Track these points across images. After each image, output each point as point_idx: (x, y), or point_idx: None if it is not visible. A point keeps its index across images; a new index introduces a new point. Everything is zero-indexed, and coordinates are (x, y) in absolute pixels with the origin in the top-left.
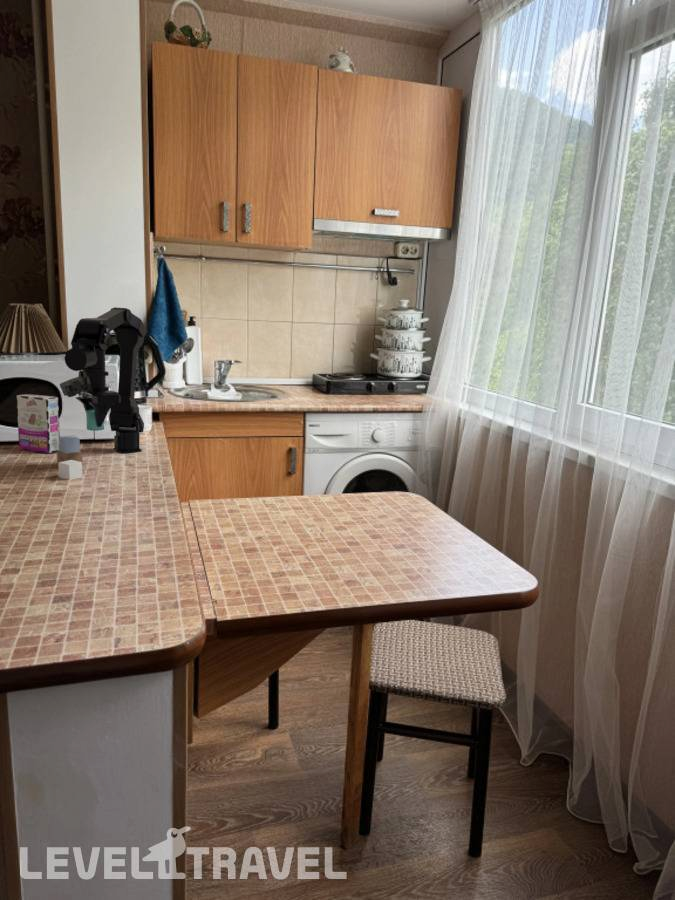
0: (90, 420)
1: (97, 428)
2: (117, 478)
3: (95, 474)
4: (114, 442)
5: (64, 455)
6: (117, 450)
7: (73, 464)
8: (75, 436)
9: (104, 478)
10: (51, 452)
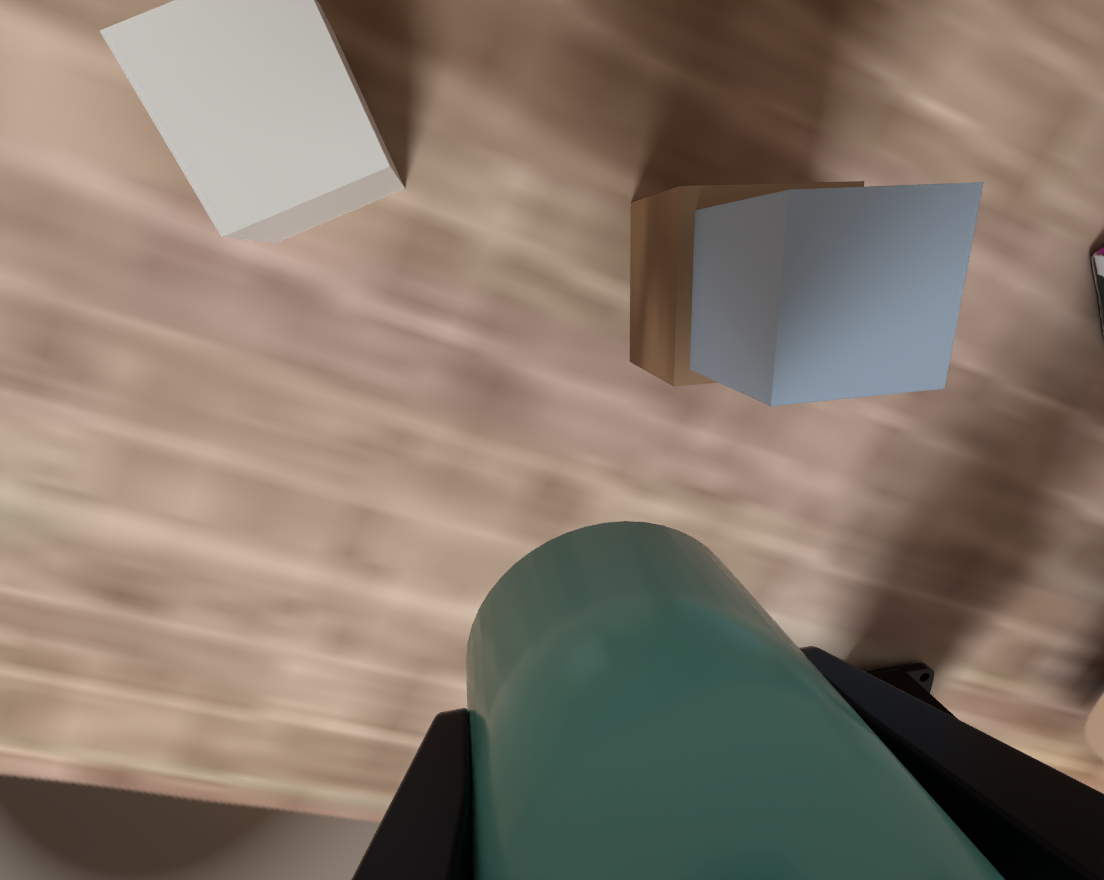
0: (560, 707)
1: (470, 680)
2: (122, 481)
3: (319, 367)
4: (935, 701)
5: (675, 198)
6: (871, 673)
7: (148, 106)
8: (868, 385)
9: (153, 391)
10: (1097, 276)
